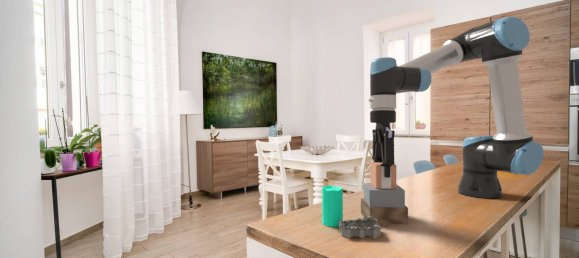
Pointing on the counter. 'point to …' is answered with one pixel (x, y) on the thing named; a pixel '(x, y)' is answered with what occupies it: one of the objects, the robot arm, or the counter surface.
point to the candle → (332, 205)
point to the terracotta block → (376, 175)
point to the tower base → (385, 214)
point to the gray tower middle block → (384, 196)
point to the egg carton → (360, 227)
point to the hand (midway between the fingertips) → (382, 185)
